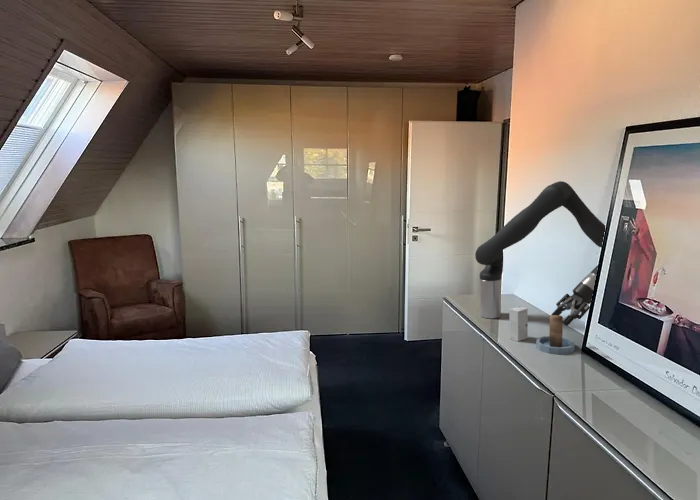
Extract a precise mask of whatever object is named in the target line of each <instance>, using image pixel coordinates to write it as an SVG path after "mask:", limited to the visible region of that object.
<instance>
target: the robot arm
mask: <svg viewBox="0 0 700 500" xmlns="http://www.w3.org/2000/svg"><path fill="white" fill-rule="evenodd" d="M562 207H564V208H565V209H566V210H568V212H570V213H571V214H572V216H573V218H575V220H576V223H578V225H579V227H580V229H581V230H582V232H583V234H585V235H586V236H587V238H589V239H590V240H591V242H592V243H594V244H595V245H596V246H597V247H598V248H602V242H603V237H604V232H605V226H606V225H605V224H604V223H603V222H602V220H600V219H599V218H598V217H597V216H596V215H595V214H594V212H592V210H591V209H590V208H589V207H588V206H587V205H586V204H585V202H584V201H583V200H582V199H581V198H580V196H579V195H578V194H577V191H575V190H574V189H573V187H572V186H571V185H570V184H569V183H567V182H565V181H563V180H562V181H561V180H560V181H556V182H554V183H552V184H549V185H547V186H546V187H545V188H544V189H543V190H542V191H541V192H540V193H539V195H537V197H536V198H535V199H534V200H533V201H532V202H531V203H529V205H528V206H526V207H525V208H523V209H522V210H521V211H520V212H519V213H517V214H515V216H513V217H512V218H511V219H510V220H509V221H508V222H507V223H506V224H504V226H503V227H502V228H501V229H499V230H498V231H497V232H496V233H495V234H494V235H493V236H492V237H490V238H489V239H488V240H486V241H485V242H484V243H482V244H481V245H479V246H478V247H477V249H476V251H475V256H474V257H475V261H476V262H477V263H478V264H479V265H483V266H484V268H483V270H481V271H480V273H479V316H480V317H481V318H484V319H499V318H501V316H502V274H503V272H504V250H506V249H507V248H509V247H511V246H514V245H515V244H517V243H519V242H521V241H522V240H524V239H525V238H526V237H527V236H529V235H530V234H531V233H532V232H533V231H534V230H535V229H536V228H537V227H538V226H539V224H540V222H541V221H542V220H543V219H544V218H545V217H547V216H548V215H550V214H551V213H552V212H553V211H554V212H555V211H556V210H557V209H559V208H562ZM597 268H598V264H597V265H596V266H595V267H594V268H593V269H592V270H591V271H590V272H589V273H588V274H587V275H586V276H585V277H583V279H582V280H581V281H580V282H579V283H578V284H577V285H576V286H575V287H574V288H573V289H572V293H573V294H572V295H570V294H569V293H566V294H564V295H563V296H562V297H561V299H560V300H558V302H556V309H554V310H553V312H552V313H551V315H559V316H561V314H562V313H563V312H565V311H569V310H570V313H569V314H568V315H567V316H566V317H565V318H564V319H563V322H562V323H563V326H566V327H568V326H569V325H570V324H571V323H572V322H573V321H574V320H576V319H578V320H581V319H582V318H583V317H584V316H585V315H586V313H587V312H588V311H589V309H591V306H590V303H591V304H592V302H591V299H592V294H593V290H594V285H595V280H596V274H597ZM551 315H550V316H551Z"/></svg>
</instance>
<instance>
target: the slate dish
mask: <svg viewBox="0 0 700 500" xmlns="http://www.w3.org/2000/svg"><path fill="white" fill-rule="evenodd" d="M549 340H550V335H547V336H546V335H545V336H544V335H543V336H541V337H537V338H536V341H535V343H536V344H535V346H536V348H537V350H539V351H540V352H544V353H547V354H552V355H568V354H571V353H573V352H575V350H576V344H575V343H576V342H575V341H574V340H572V339H571V338H568V337H564V336H562V347H551V346H550V345H549Z"/></svg>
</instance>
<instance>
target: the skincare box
mask: <svg viewBox="0 0 700 500" xmlns="http://www.w3.org/2000/svg"><path fill="white" fill-rule="evenodd" d="M508 316H509V340H512V341H516V342H520V341H523V340H526V339H528V331H529V329H528V327H529V326H528V322H529V321H528V317H529V316H528V308H526V307H522V306H517V307H513V308H509V315H508Z"/></svg>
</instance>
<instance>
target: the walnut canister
mask: <svg viewBox="0 0 700 500" xmlns="http://www.w3.org/2000/svg"><path fill="white" fill-rule="evenodd" d="M563 320H564V319H563V316H562V315H550V316H549V336H550V340H549V345H550V346H551V347H562V337H563V326H564V324H563V323H562V322H563Z"/></svg>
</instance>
